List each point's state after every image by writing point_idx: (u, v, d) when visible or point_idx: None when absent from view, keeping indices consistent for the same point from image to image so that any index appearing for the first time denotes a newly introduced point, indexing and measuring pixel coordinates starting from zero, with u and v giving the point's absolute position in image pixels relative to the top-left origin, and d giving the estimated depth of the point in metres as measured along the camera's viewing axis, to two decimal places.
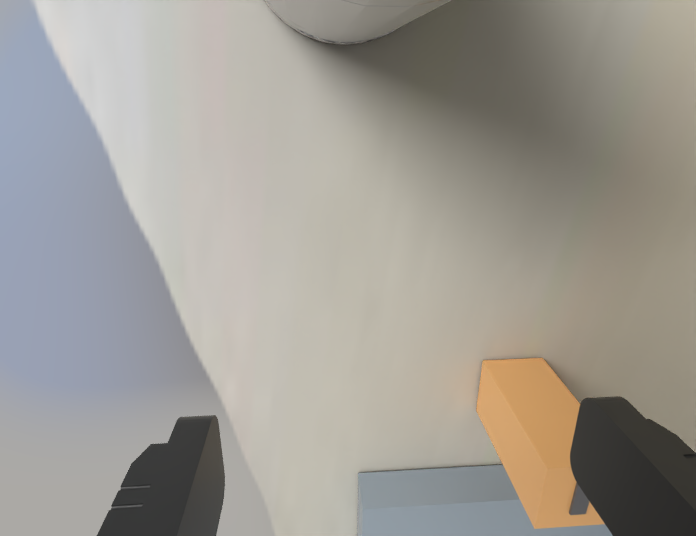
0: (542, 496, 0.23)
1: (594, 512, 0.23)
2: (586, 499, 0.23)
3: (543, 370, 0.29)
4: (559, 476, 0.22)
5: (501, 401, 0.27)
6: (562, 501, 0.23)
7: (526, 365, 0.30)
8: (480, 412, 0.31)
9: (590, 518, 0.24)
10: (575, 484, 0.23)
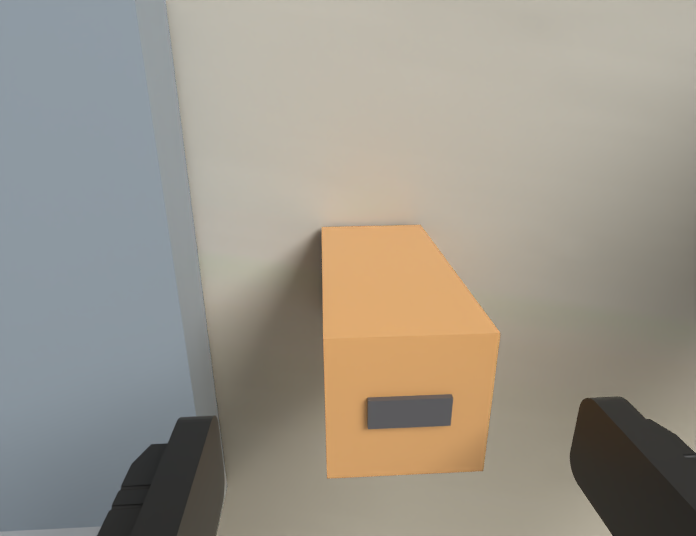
0: (423, 337, 0.11)
1: (362, 444, 0.12)
2: (409, 421, 0.11)
3: None
4: (475, 359, 0.11)
5: (423, 252, 0.16)
6: (402, 379, 0.11)
7: None
8: (333, 231, 0.18)
9: (345, 440, 0.11)
10: (444, 393, 0.11)
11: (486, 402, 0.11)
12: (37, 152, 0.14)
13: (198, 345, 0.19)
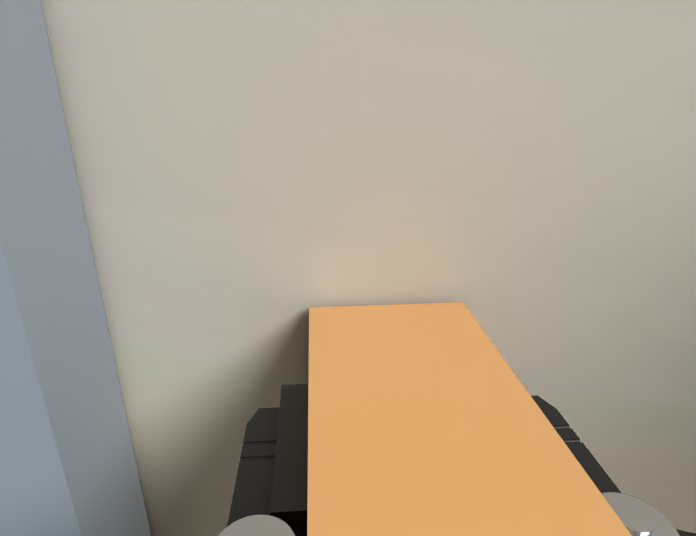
0: None
1: None
2: None
3: None
4: None
5: (487, 376, 0.09)
6: None
7: None
8: (327, 319, 0.11)
9: None
10: None
11: None
12: None
13: (112, 497, 0.12)
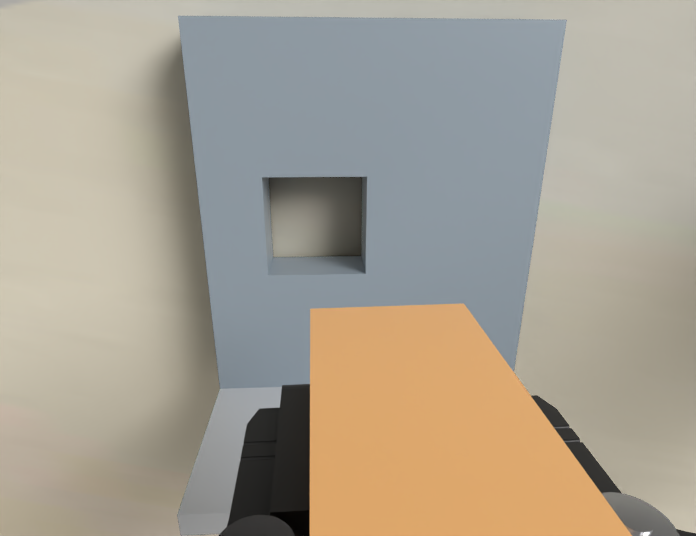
0: None
1: None
2: None
3: None
4: None
5: (487, 378, 0.09)
6: None
7: None
8: (328, 321, 0.11)
9: None
10: None
11: None
12: (482, 121, 0.24)
13: None
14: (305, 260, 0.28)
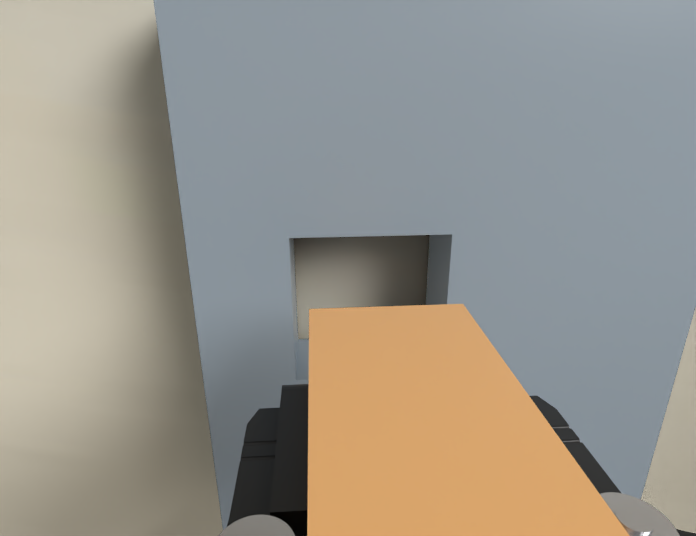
0: None
1: None
2: None
3: None
4: None
5: (486, 378, 0.09)
6: None
7: None
8: (327, 321, 0.11)
9: None
10: None
11: None
12: (635, 148, 0.15)
13: None
14: None
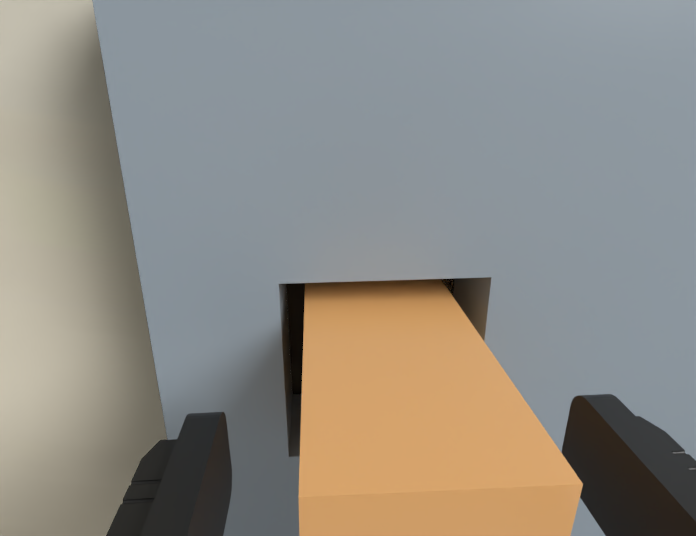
0: (460, 492, 0.07)
1: None
2: None
3: None
4: (539, 521, 0.07)
5: (440, 311, 0.12)
6: None
7: None
8: None
9: None
10: None
11: None
12: None
13: None
14: None
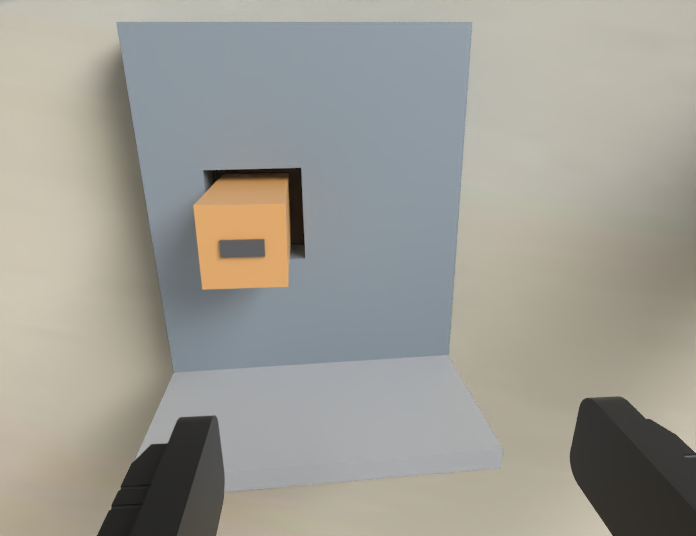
0: (245, 205, 0.21)
1: (219, 268, 0.22)
2: (242, 253, 0.21)
3: None
4: (274, 218, 0.21)
5: (277, 182, 0.26)
6: (237, 229, 0.21)
7: None
8: (229, 175, 0.28)
9: (210, 265, 0.22)
10: (260, 238, 0.21)
11: (284, 244, 0.22)
12: (403, 115, 0.26)
13: None
14: None
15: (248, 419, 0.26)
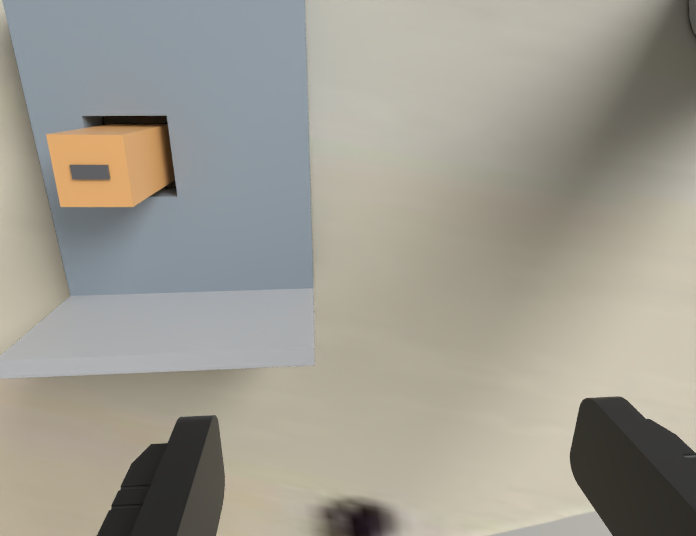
0: (89, 135, 0.26)
1: (73, 189, 0.26)
2: (90, 176, 0.26)
3: (168, 174, 0.34)
4: (114, 147, 0.26)
5: (145, 127, 0.31)
6: (84, 156, 0.26)
7: (170, 161, 0.34)
8: (114, 124, 0.33)
9: (65, 186, 0.26)
10: (105, 164, 0.26)
11: (125, 170, 0.26)
12: (251, 70, 0.30)
13: None
14: None
15: (115, 326, 0.30)
